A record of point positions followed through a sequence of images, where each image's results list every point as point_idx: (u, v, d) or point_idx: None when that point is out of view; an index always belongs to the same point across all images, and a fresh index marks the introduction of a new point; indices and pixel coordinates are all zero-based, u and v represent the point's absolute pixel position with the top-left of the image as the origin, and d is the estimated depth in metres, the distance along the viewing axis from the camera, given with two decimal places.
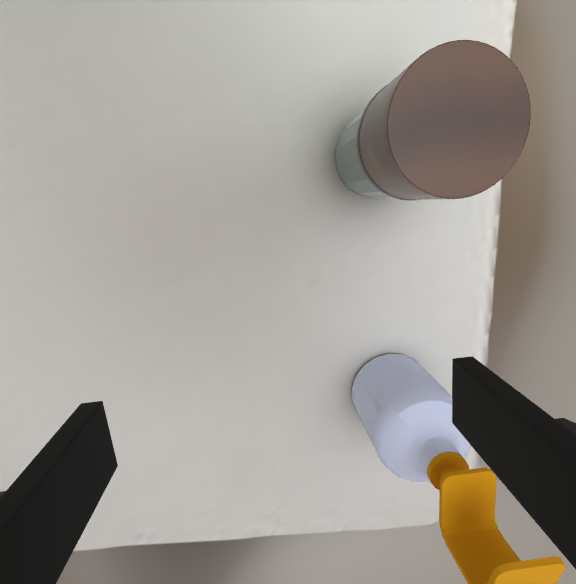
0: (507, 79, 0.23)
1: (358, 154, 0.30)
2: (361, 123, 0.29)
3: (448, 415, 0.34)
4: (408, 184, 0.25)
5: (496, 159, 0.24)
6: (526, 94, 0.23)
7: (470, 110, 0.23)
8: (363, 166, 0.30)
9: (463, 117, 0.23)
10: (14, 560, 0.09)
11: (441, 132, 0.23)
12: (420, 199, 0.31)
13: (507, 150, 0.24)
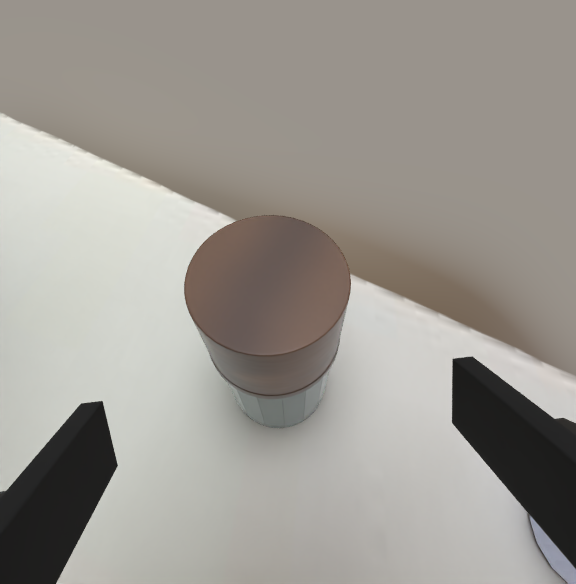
0: (259, 226, 0.23)
1: (249, 393, 0.24)
2: (221, 373, 0.25)
3: None
4: (297, 355, 0.19)
5: (325, 261, 0.21)
6: (282, 217, 0.23)
7: (262, 264, 0.21)
8: (264, 395, 0.24)
9: (265, 272, 0.21)
10: (14, 560, 0.09)
11: (264, 297, 0.20)
12: (335, 355, 0.25)
13: (322, 249, 0.22)
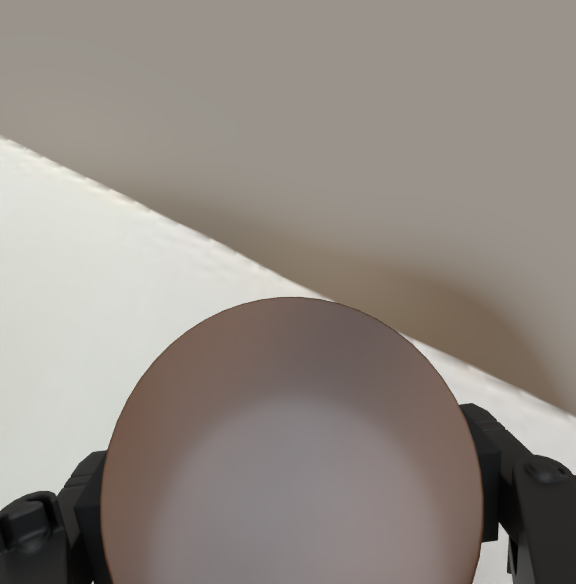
0: (269, 323, 0.11)
1: None
2: None
3: None
4: None
5: (416, 413, 0.10)
6: (316, 302, 0.11)
7: (279, 420, 0.10)
8: None
9: (285, 442, 0.09)
10: None
11: (284, 517, 0.09)
12: None
13: (408, 382, 0.10)
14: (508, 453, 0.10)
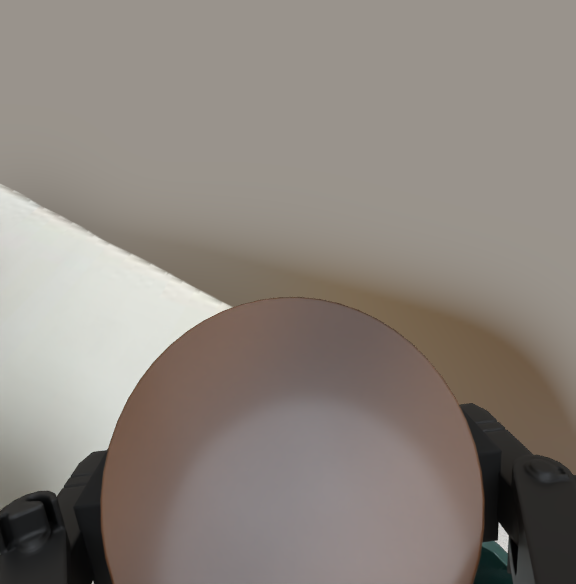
0: (270, 323, 0.11)
1: None
2: None
3: None
4: None
5: (417, 413, 0.10)
6: (317, 302, 0.11)
7: (279, 420, 0.10)
8: None
9: (285, 442, 0.09)
10: None
11: (284, 518, 0.09)
12: None
13: (408, 382, 0.10)
14: (508, 453, 0.10)
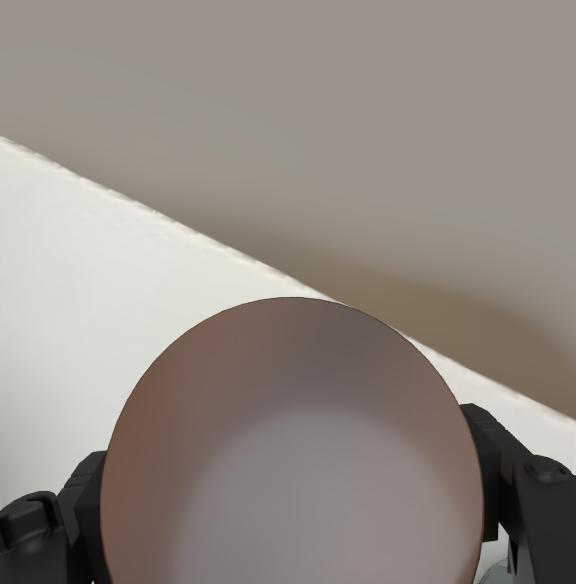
0: (269, 323, 0.11)
1: None
2: None
3: None
4: None
5: (416, 413, 0.10)
6: (317, 302, 0.11)
7: (279, 420, 0.10)
8: None
9: (285, 442, 0.09)
10: None
11: (284, 518, 0.09)
12: None
13: (408, 382, 0.10)
14: (508, 453, 0.10)
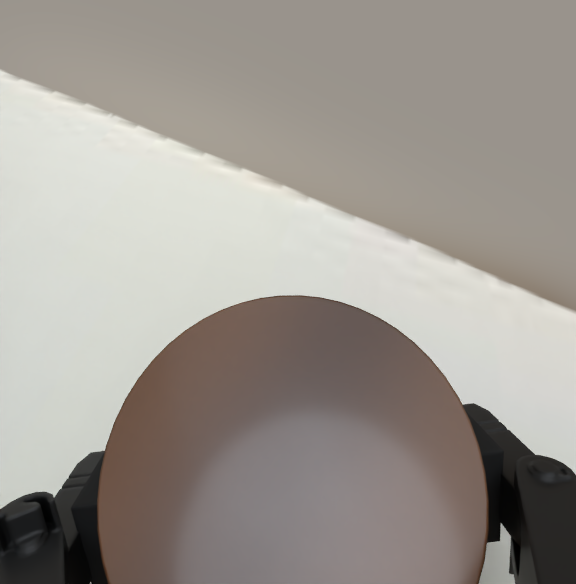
0: (270, 322, 0.11)
1: None
2: None
3: None
4: None
5: (419, 413, 0.10)
6: (317, 301, 0.11)
7: (279, 420, 0.09)
8: None
9: (285, 443, 0.09)
10: None
11: (285, 519, 0.08)
12: None
13: (410, 381, 0.10)
14: (510, 454, 0.10)
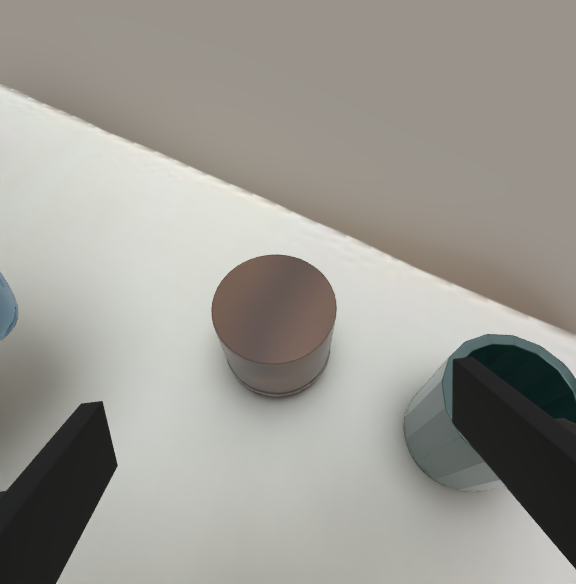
0: (267, 263, 0.30)
1: (258, 392, 0.31)
2: (237, 376, 0.32)
3: None
4: (296, 363, 0.26)
5: (317, 292, 0.28)
6: (285, 256, 0.30)
7: (270, 294, 0.28)
8: (270, 393, 0.31)
9: (272, 300, 0.28)
10: (14, 560, 0.09)
11: (271, 320, 0.27)
12: (326, 362, 0.32)
13: (316, 282, 0.29)
14: None
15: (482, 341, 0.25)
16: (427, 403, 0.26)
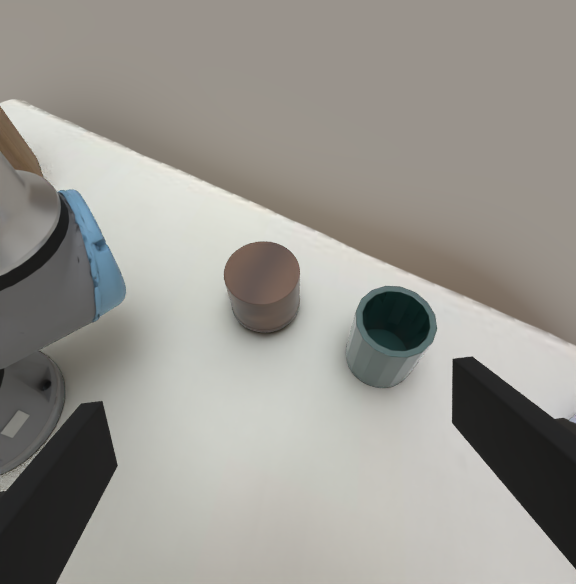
0: (258, 247, 0.47)
1: (253, 329, 0.49)
2: (239, 319, 0.49)
3: None
4: (274, 305, 0.44)
5: (288, 263, 0.46)
6: (269, 242, 0.48)
7: (259, 265, 0.46)
8: (260, 329, 0.49)
9: (260, 268, 0.46)
10: (13, 561, 0.09)
11: (260, 280, 0.45)
12: (296, 311, 0.50)
13: (287, 258, 0.46)
14: None
15: (382, 289, 0.43)
16: (352, 328, 0.44)
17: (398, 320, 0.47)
